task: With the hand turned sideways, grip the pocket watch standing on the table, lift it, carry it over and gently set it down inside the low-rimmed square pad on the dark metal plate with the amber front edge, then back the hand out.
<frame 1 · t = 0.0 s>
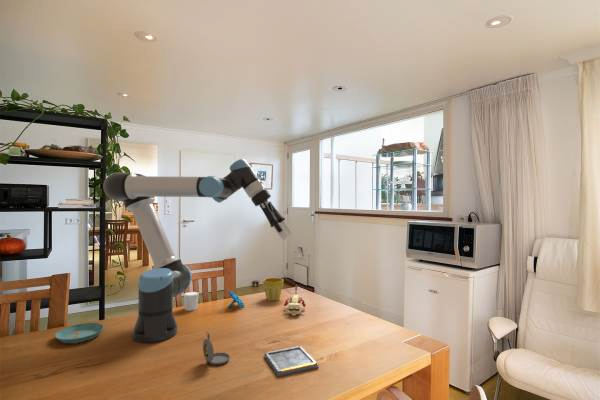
hand: (288, 236, 131), 36 cm above the table, tool tilted 35°, fingers open, 13 cm apart
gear: (236, 307, 154), on the table
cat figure: (295, 308, 153), on the table
saucer: (80, 338, 118), on the table
pocket watch: (215, 362, 102), on the table
plant pot: (273, 299, 166), on the table
pocket plate: (290, 362, 102), on the table
white cup: (191, 309, 150), on the table
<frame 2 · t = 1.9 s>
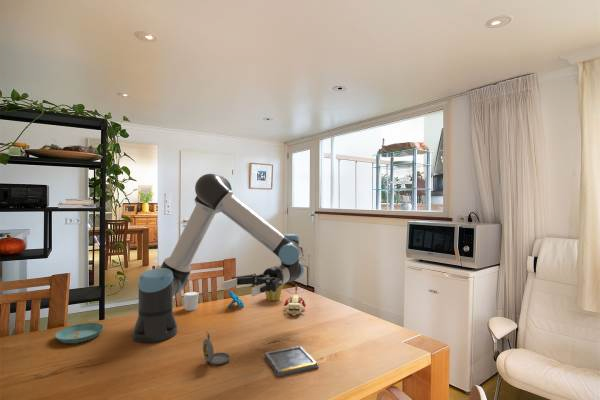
hand: (237, 289, 110), 20 cm above the table, tool horizontal, fingers open, 13 cm apart
nothing on the table moved.
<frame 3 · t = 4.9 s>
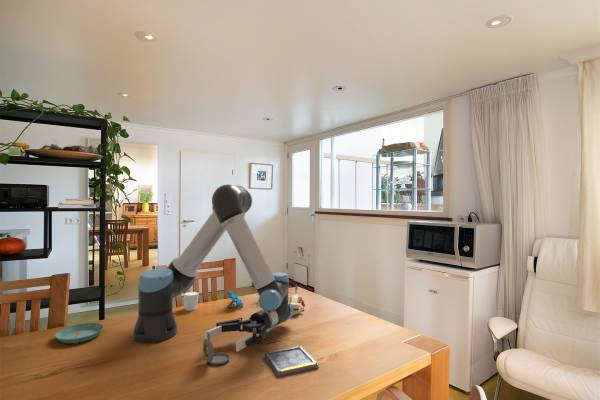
hand: (220, 341, 102), 6 cm above the table, tool horizontal, fingers open, 13 cm apart
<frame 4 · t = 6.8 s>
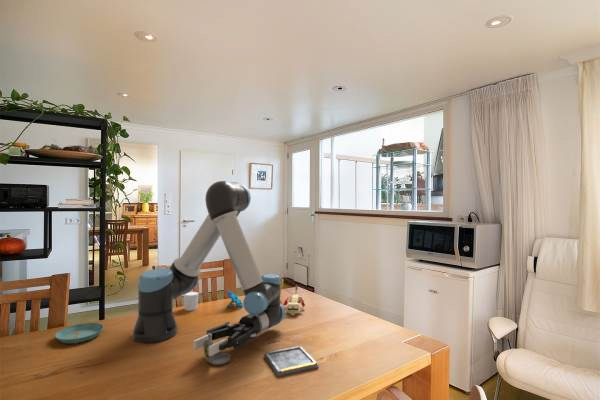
hand: (201, 348, 97), 6 cm above the table, tool horizontal, fingers closed on pocket watch, 6 cm apart
pocket watch: (216, 362, 101), on the table, touching gripper
everything else where it was.
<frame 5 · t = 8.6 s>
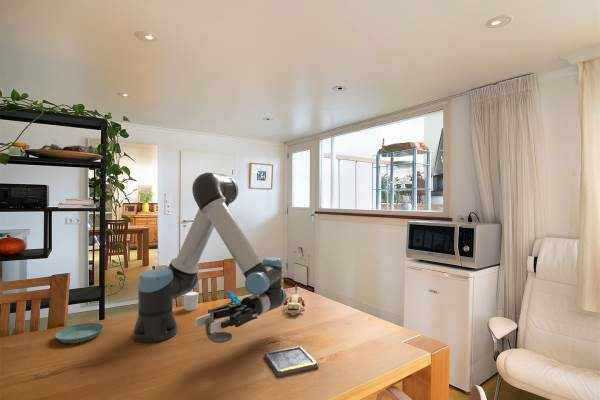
hand: (203, 325, 97), 13 cm above the table, tool horizontal, fingers closed on pocket watch, 6 cm apart
pocket watch: (217, 341, 101), point 7 cm above the table, touching gripper
everything else where it was.
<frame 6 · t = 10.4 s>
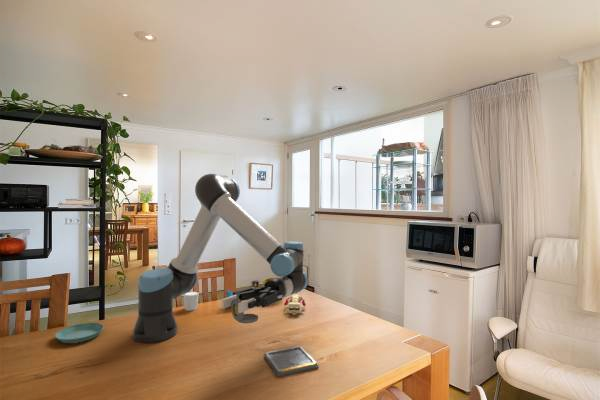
hand: (230, 306, 97), 19 cm above the table, tool horizontal, fingers closed on pocket watch, 6 cm apart
pocket watch: (243, 322, 101), point 13 cm above the table, touching gripper
when the fingers open (7 cm above the table, at t = 13.9 s): pocket watch stays where it is, resting on pocket plate.
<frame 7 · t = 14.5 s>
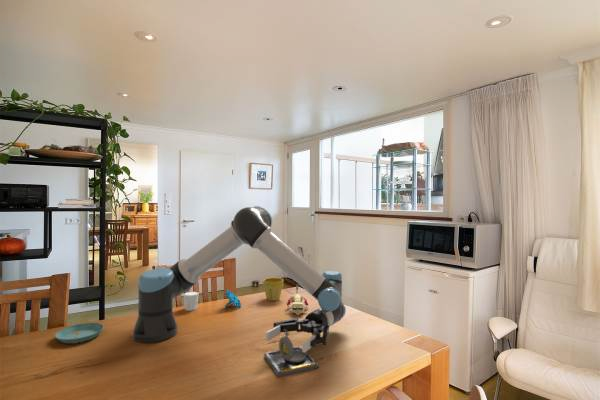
hand: (284, 341, 99), 8 cm above the table, tool horizontal, fingers open, 13 cm apart
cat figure: (297, 307, 154), on the table
pocket watch: (291, 360, 101), point 1 cm above the table, touching pocket plate
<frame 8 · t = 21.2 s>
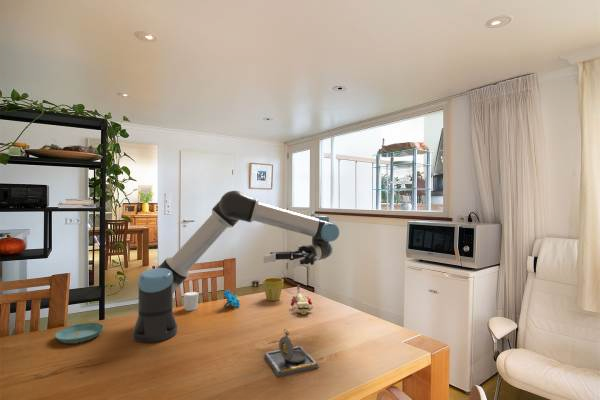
hand: (278, 261, 120), 28 cm above the table, tool horizontal, fingers open, 13 cm apart
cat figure: (300, 307, 155), on the table
at the end: pocket watch 0.6 cm off-centre on the pocket plate, point 0.8 cm above the pocket plate's base; pocket watch tilted 0°; the gripper is holding nothing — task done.
